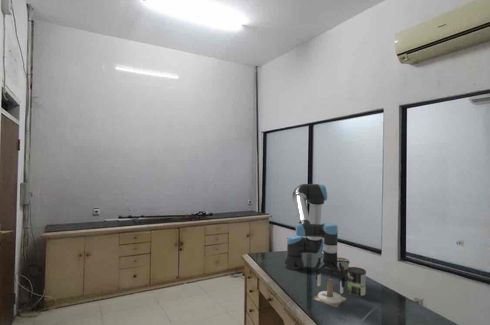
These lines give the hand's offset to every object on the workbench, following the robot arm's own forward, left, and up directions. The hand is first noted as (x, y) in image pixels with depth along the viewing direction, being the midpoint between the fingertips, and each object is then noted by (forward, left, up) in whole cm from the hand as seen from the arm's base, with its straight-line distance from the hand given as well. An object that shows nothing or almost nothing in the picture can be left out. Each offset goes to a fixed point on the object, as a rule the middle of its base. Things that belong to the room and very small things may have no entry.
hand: (330, 289), depth 160 cm
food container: (-14, +46, -6) cm, 48 cm away
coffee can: (+8, +19, -6) cm, 21 cm away
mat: (0, 0, -6) cm, 6 cm away
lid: (0, 0, -5) cm, 5 cm away
